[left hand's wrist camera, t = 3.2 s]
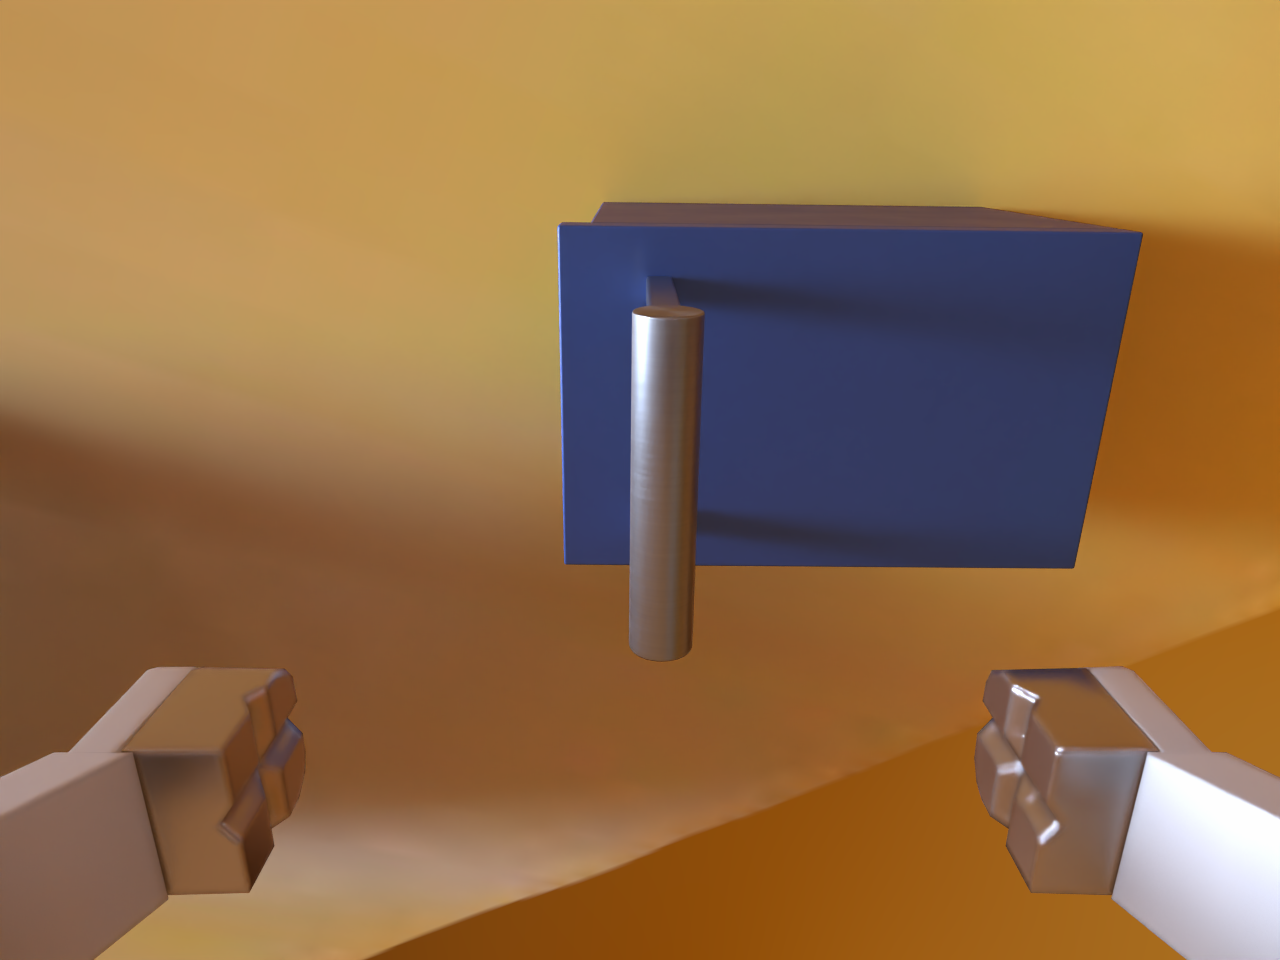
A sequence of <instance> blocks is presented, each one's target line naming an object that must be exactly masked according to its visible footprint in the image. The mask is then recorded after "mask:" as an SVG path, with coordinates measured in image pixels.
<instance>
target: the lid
mask: <svg viewBox="0 0 1280 960" xmlns="http://www.w3.org/2000/svg"><path fill="white" fill-rule="evenodd" d="M1142 237H1143V233H1141V232H1136V231H1130V230H1124V229H1064V228H984V227H903V226H823V225H743V224H662V223H582V222H562V223H561V224H560V225H559V226H558V271H559V322H560V373H561V424H562V475H563V525H564V563H565V564H576V565H630V592H629V646H630V648H631V650H632V651H633V652H634V653H635V654H636V655H638V656H639V657H642V658H644V659H647V660H652V661H672V660H676V659H679V658H682V657H684V656H685V655H687V654H688V653H689V651H690V650H691V648H692V637H693V610H694V584H695V565H699V566H822V567H945V568H1068V569H1073V568H1074V566H1075V561H1076V557H1077V552H1078V547H1079V542H1080V537H1081V532H1082V527H1083V523H1084V518H1085V513H1086V508H1087V503H1088V498H1089V494H1090V489H1091V484H1092V479H1093V474H1094V469H1095V464H1096V460H1097V455H1098V450H1099V445H1100V440H1101V435H1102V431H1103V426H1104V421H1105V416H1106V411H1107V406H1108V401H1109V397H1110V392H1111V387H1112V382H1113V377H1114V372H1115V368H1116V363H1117V358H1118V353H1119V348H1120V343H1121V338H1122V334H1123V329H1124V324H1125V319H1126V314H1127V309H1128V305H1129V300H1130V295H1131V290H1132V285H1133V280H1134V275H1135V271H1136V266H1137V261H1138V256H1139V251H1140V246H1141V242H1142Z"/></svg>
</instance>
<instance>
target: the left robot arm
mask: <svg viewBox="0 0 1280 960" xmlns="http://www.w3.org/2000/svg"><path fill="white" fill-rule="evenodd" d="M296 702H297V697H296V692H295V687H294V682H293V677H292V676H291V675H290V674H289V673H288V672H287V671H286V670H285V669H272V668H222V667H201V668H198V667H157V668H153V669H149V670H147V671H146V672H145V673H144V674H143V675H142V676H141V677H140V678H139V679H138V680H137V681H136V682H135V683H134V684H133V685H132V687H131V688H130V689H129V690H128V691H127V692H126V693H125V694H124V695H123V696H122V697H121V698H120V699H119V700H118V701H117V702H116V703H115V704H114V705H113V706H112V707H111V708H110V709H109V710H108V712H107V713H106V714H105V715H104V716H103V717H102V718H101V719H100V720H99V721H98V722H97V723H96V724H95V725H94V726H93V727H92V728H91V729H90V730H89V731H88V732H87V733H86V734H85V735H84V737H83V738H82V739H81V740H80V741H79V742H78V743H77V744H76V745H75V746H74V747H73V748H72V749H71V750H70V751H69V752H54V753H52V754H49V755H47V756H45V757H43V758H41V759H39V760H37V761H34V762H32V763H30V764H28V765H26V766H24V767H22V768H19V769H17V770H15V771H13V772H11V773H9V774H7V775H4V776H2V777H0V960H94V959H95V958H96V957H97V956H99V955H100V954H101V953H102V952H104V951H105V950H106V949H107V948H109V947H110V946H111V945H112V944H114V943H115V942H116V941H117V940H119V939H120V938H121V937H122V936H123V935H125V934H126V933H127V932H128V931H130V930H131V929H132V928H133V927H135V926H136V925H137V924H138V923H140V922H141V921H142V920H143V919H145V918H146V917H147V916H148V915H149V914H151V913H152V912H153V911H154V910H156V909H157V908H158V907H159V906H161V905H162V904H163V903H164V902H166V901H167V900H168V895H187V894H222V893H249V892H250V890H251V888H252V887H253V885H254V883H255V881H256V879H257V877H258V875H259V873H260V872H261V870H262V868H263V866H264V864H265V862H266V860H267V858H268V857H269V855H270V853H271V851H272V849H273V847H274V841H273V836H272V830H271V829H272V828H273V827H275V826H276V825H278V824H279V823H281V822H282V821H283V820H285V819H286V818H288V817H289V816H290V815H291V813H292V811H293V809H294V807H295V805H296V803H297V801H298V799H299V796H300V792H301V787H302V783H303V779H304V774H305V746H304V739H303V733H302V732H301V731H300V730H299V729H298V728H297V727H296V726H295V725H294V724H293V723H292V722H291V721H290V720H289V719H288V718H287V717H288V716H289V714H290V712H291V711H292V709H293V707H294V706H295V704H296ZM983 702H984V704H985V706H986V707H987V709H988V711H989V712H990V714H991V715H992V717H993V718H992V719H991V720H990V721H989V722H988V723H987V724H986V725H985V726H984V727H983V728H982V729H981V730H980V731H979V732H978V733H977V741H976V749H975V757H974V760H975V770H976V781H977V785H978V788H979V792H980V795H981V798H982V801H983V803H984V805H985V807H986V809H987V811H988V813H989V815H990V816H991V817H992V818H994V819H995V820H997V821H998V822H999V823H1001V824H1002V825H1004V826H1005V827H1007V828H1008V829H1009V830H1008V836H1007V841H1006V847H1007V849H1008V851H1009V853H1010V855H1011V857H1012V858H1013V860H1014V862H1015V864H1016V866H1017V868H1018V870H1019V871H1020V873H1021V875H1022V877H1023V879H1024V881H1025V883H1026V884H1027V886H1028V888H1029V890H1030V892H1031V893H1056V894H1093V895H1112V900H1114V901H1115V902H1116V903H1117V904H1119V905H1120V906H1121V907H1122V908H1124V909H1125V910H1126V911H1127V912H1128V913H1130V914H1131V915H1132V916H1133V917H1135V918H1136V919H1137V920H1138V921H1140V922H1141V923H1142V924H1143V925H1144V926H1146V927H1147V928H1148V929H1149V930H1151V931H1152V932H1153V933H1154V934H1156V935H1157V936H1158V937H1159V938H1161V939H1162V940H1163V941H1164V942H1166V943H1167V944H1168V945H1169V946H1170V947H1172V948H1173V949H1174V950H1175V951H1177V952H1178V953H1179V954H1180V955H1182V956H1183V957H1184V958H1185V959H1187V960H1280V777H1277V776H1275V775H1273V774H1271V773H1269V772H1267V771H1265V770H1263V769H1261V768H1258V767H1256V766H1254V765H1252V764H1250V763H1248V762H1246V761H1243V760H1241V759H1239V758H1237V757H1235V756H1233V755H1231V754H1229V753H1226V752H1211V751H1210V750H1209V749H1208V748H1207V747H1206V746H1205V745H1204V744H1203V743H1202V742H1201V741H1200V740H1199V739H1198V737H1197V736H1196V735H1195V734H1194V733H1193V732H1192V731H1191V730H1190V729H1189V728H1188V727H1187V726H1186V725H1185V724H1184V723H1183V722H1182V721H1181V720H1180V719H1179V718H1178V717H1177V716H1176V715H1175V713H1174V712H1173V711H1172V710H1171V709H1170V708H1169V707H1168V706H1167V705H1166V704H1165V703H1164V702H1163V701H1162V700H1161V699H1160V698H1159V697H1158V696H1157V695H1156V694H1155V693H1154V692H1153V691H1152V690H1151V688H1150V687H1149V686H1148V685H1147V684H1146V683H1145V682H1144V681H1143V680H1142V679H1141V678H1140V677H1139V676H1138V675H1137V674H1136V673H1135V672H1134V671H1133V670H1130V669H1128V668H1125V667H1123V666H1113V667H1086V668H1064V669H1022V670H992V671H991V673H990V675H989V677H988V679H987V681H986V685H985V691H984V696H983Z"/></svg>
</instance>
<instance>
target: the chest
mask: <svg viewBox="0 0 1280 960" xmlns="http://www.w3.org/2000/svg"><path fill="white" fill-rule="evenodd" d="M591 223H662V224H743V225H823V226H903V227H984V228H1064V229H1117V228H1110V227H1104V226H1098V225H1091V224H1085V223H1079V222H1072V221H1066V220H1060V219H1053V218H1047V217H1041V216H1034V215H1028V214H1021V213H1015V212H1009V211H1002V210H996V209H990V208H983V207H934V206H855V205H776V204H698V203H619V202H604V203H603V204H602V205H601V207H600V208H599V210H598V212H597V213H596V215H595V217H594V218H593V220H592V222H591Z"/></svg>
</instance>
